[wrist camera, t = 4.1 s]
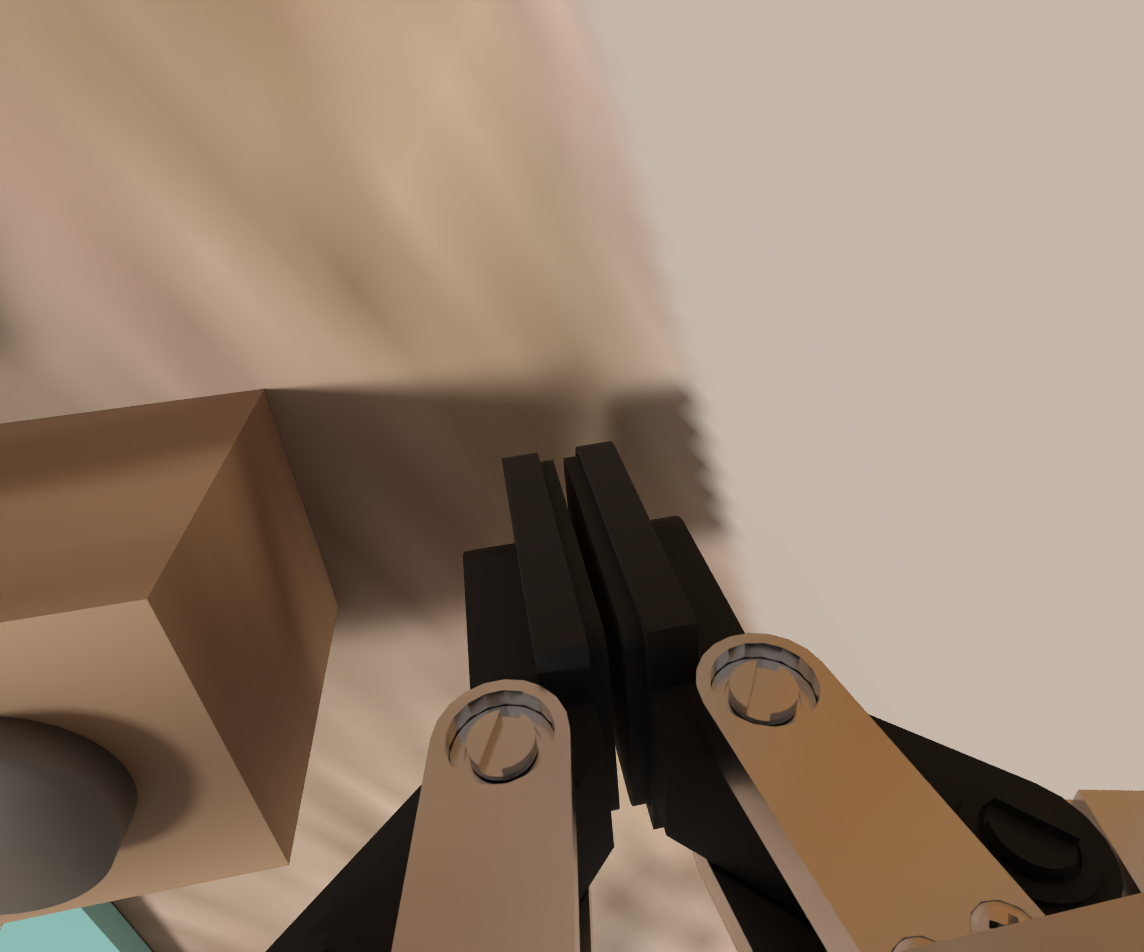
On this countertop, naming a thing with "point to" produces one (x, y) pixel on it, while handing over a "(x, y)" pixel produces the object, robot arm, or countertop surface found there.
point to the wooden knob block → (153, 650)
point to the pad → (73, 932)
